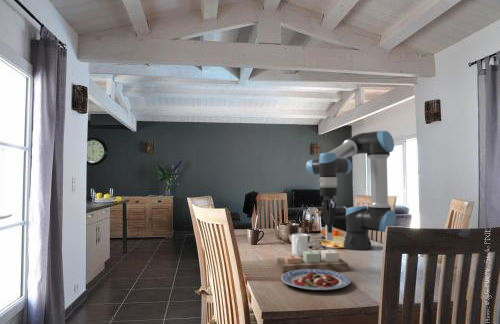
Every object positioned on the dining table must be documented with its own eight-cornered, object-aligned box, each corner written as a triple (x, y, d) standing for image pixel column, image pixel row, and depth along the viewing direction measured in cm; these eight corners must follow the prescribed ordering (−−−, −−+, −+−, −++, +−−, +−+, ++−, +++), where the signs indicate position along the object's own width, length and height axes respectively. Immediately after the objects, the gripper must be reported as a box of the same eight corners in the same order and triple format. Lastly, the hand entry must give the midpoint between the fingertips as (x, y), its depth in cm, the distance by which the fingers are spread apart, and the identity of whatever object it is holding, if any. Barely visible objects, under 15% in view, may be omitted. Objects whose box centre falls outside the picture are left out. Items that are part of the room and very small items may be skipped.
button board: (336, 262, 160) (336, 256, 161) (348, 270, 147) (347, 263, 147) (277, 264, 157) (277, 258, 157) (283, 273, 143) (283, 265, 144)
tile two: (315, 260, 155) (315, 250, 156) (320, 263, 149) (319, 253, 150) (303, 261, 155) (302, 250, 155) (306, 264, 149) (306, 253, 149)
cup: (309, 253, 181) (308, 233, 182) (305, 258, 170) (305, 237, 170) (293, 252, 184) (293, 233, 184) (289, 257, 172) (288, 236, 173)
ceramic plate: (303, 271, 148) (303, 263, 148) (361, 281, 131) (361, 273, 131) (267, 285, 128) (267, 277, 128) (331, 300, 111) (331, 291, 112)
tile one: (334, 259, 156) (333, 249, 156) (338, 262, 150) (338, 252, 151) (321, 260, 156) (321, 250, 156) (325, 263, 150) (325, 253, 150)
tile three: (297, 265, 154) (297, 255, 155) (301, 268, 148) (300, 258, 149) (284, 265, 154) (284, 255, 154) (287, 269, 148) (287, 258, 148)
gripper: (315, 186, 161) (316, 237, 159) (324, 187, 148) (325, 242, 146) (331, 186, 161) (332, 237, 160) (341, 187, 149) (342, 242, 147)
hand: (329, 239), depth 153 cm, fingers closed
